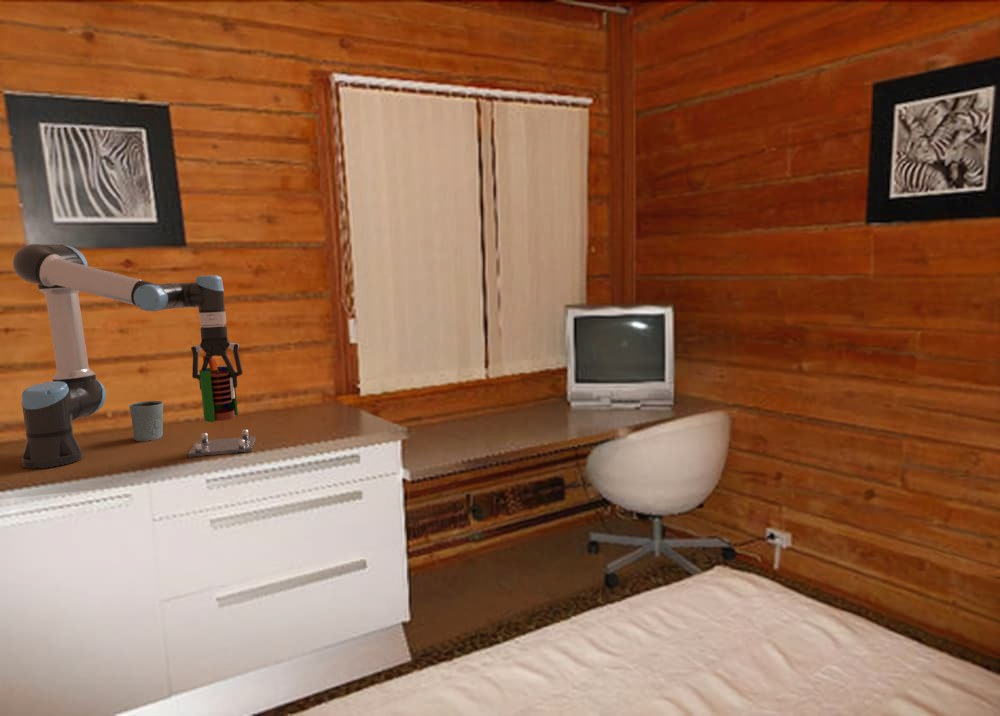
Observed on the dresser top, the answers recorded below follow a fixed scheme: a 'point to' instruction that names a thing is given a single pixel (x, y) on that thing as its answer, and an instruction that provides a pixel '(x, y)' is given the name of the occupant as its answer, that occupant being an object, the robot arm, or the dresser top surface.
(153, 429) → the grey embossed cup
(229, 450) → the mounting plate
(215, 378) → the motor
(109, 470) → the dresser top surface
